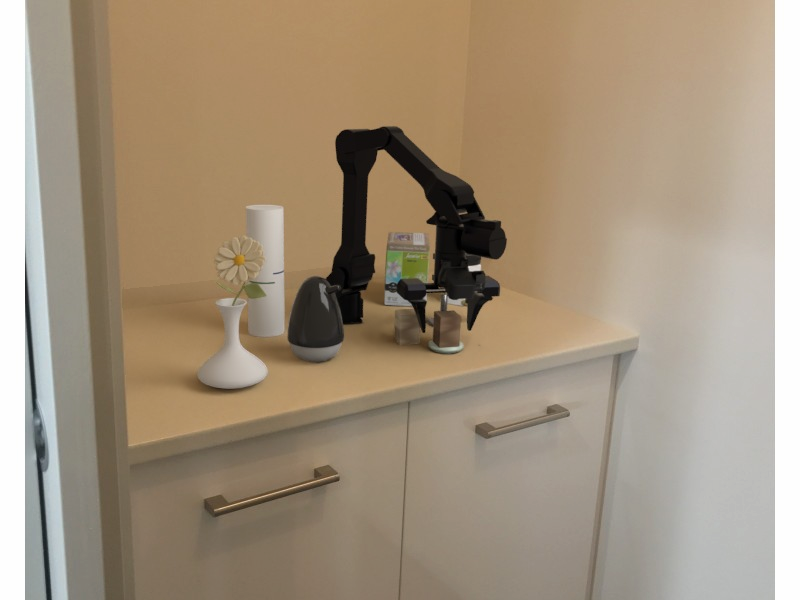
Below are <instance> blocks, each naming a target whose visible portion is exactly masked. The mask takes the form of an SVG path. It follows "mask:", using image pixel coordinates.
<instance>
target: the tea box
mask: <svg viewBox="0 0 800 600" xmlns="http://www.w3.org/2000/svg"><path fill="white" fill-rule="evenodd" d="M430 247H431V244H430V235H429V233H425V232H424V233H423V232H403V231H402V232H400V231H399V232H398V231H389V232H388V235H387V242H386V250H385V251H386V252H385V272H384V274H385V275H384V298H383V299H384V300H383V301H384V303H383V304H384V305H385V306H394V307H395V306H396V307H413V306H412V304H411V303H409V302H408V301H407V300H404V299H403V298H402V297H401V296H400V295H399V294H398V293H397V283H398V282H399V280H400V279H409V278H418V279H419V280H421V281H422V282H423V283H429V282H428V281H429V268H430V251H431V249H430ZM427 297H428V294H427V295H426V296H425V297H424V299H425V300H426V301H427V299H428V298H427ZM427 302H428V301H427Z"/></svg>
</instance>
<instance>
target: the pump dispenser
mask: <svg viewBox="0 0 800 600" xmlns="http://www.w3.org/2000/svg"><path fill="white" fill-rule="evenodd" d="M340 290H341V286H340V285H334V286H331V285H330V283H329V282H328V281H327V280H326V278H325V277H322V276H319V275H313V276H309V277H307V278H305V280H303V281H302V283H301V284H300V286H299V287H298V290H297V292H296V293H295V297H294V300H293V303H292V305H291V308H290V309H291V310H290V314H289V318H288V325H287V334H286V335H287V341H288V342H289V346H290V348H291V351H292V353H293V354H294V355H295V356H296V357H298V358H299V359H301V360H303V361H306V362H309V363H310V362H312V363H321V362H325V361H328V360H331V359H332V358H333V357H335V356H336V355H337V354H338V352H340V351H339V350H340V349H341V346H342V344H343V342H344V340H345V330H344V324H343V321H342V315H341V311H340V307H339V304H338V300H337V298H336V295H335V292H337V291H340Z"/></svg>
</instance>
